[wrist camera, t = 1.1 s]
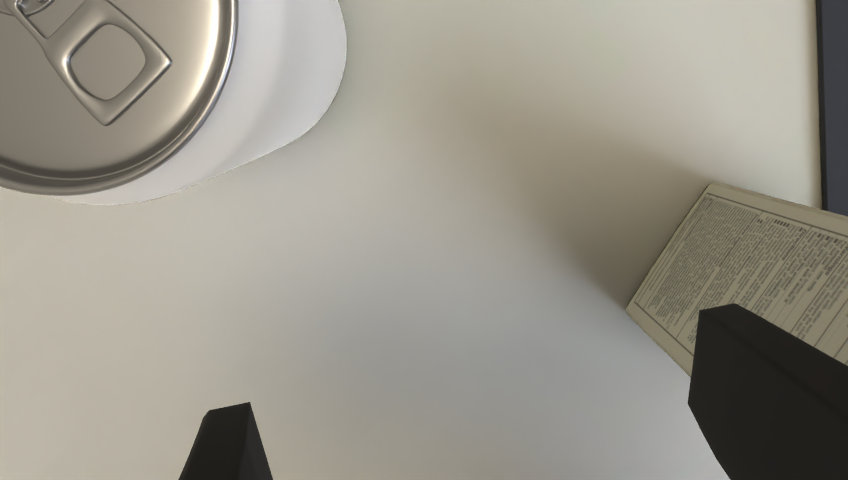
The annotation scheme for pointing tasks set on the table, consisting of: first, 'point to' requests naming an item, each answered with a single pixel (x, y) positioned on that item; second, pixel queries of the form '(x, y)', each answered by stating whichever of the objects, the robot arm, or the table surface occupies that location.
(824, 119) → the mat
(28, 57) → the can
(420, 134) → the table surface
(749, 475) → the robot arm
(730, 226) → the box
